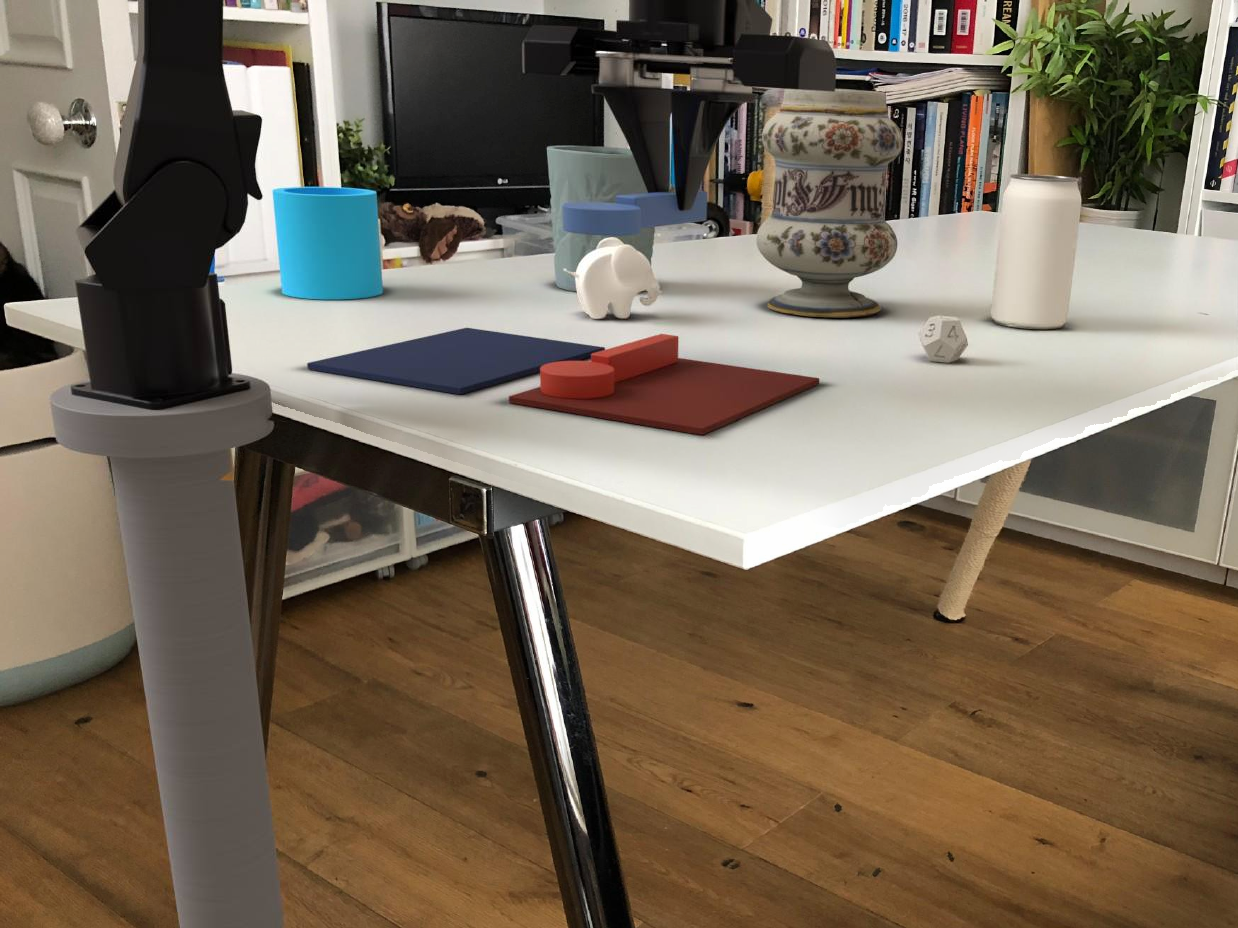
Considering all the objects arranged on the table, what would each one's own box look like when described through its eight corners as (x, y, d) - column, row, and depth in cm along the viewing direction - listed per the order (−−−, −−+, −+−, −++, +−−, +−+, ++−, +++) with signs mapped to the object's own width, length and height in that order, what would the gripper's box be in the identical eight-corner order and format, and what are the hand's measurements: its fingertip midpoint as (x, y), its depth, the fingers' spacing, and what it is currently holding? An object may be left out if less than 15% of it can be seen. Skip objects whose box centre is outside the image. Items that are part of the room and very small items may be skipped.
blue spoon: (613, 237, 72) (613, 203, 71) (547, 230, 74) (546, 197, 73) (727, 223, 83) (728, 193, 83) (667, 216, 85) (668, 187, 84)
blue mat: (460, 394, 78) (460, 388, 78) (307, 369, 83) (306, 363, 83) (605, 353, 92) (605, 347, 92) (466, 333, 97) (466, 327, 96)
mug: (391, 298, 109) (385, 196, 106) (287, 300, 106) (278, 195, 103) (367, 277, 119) (360, 183, 116) (271, 279, 116) (262, 182, 113)
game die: (951, 354, 98) (955, 313, 96) (974, 364, 94) (979, 322, 93) (908, 355, 96) (912, 314, 95) (930, 365, 93) (934, 323, 92)
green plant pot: (546, 277, 124) (543, 144, 119) (652, 278, 126) (653, 147, 122) (554, 294, 115) (551, 150, 110) (668, 295, 117) (670, 154, 113)
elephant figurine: (672, 323, 104) (673, 246, 102) (572, 324, 102) (571, 246, 99) (651, 308, 110) (651, 236, 108) (556, 309, 108) (554, 235, 105)
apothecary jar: (885, 301, 120) (900, 91, 113) (899, 323, 109) (916, 92, 102) (753, 295, 120) (761, 84, 113) (754, 317, 108) (762, 85, 102)
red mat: (702, 435, 72) (702, 428, 72) (508, 402, 77) (508, 396, 77) (819, 384, 86) (819, 378, 86) (648, 359, 91) (648, 353, 91)
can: (1072, 332, 109) (1091, 181, 105) (995, 328, 109) (1011, 177, 105) (1059, 319, 115) (1076, 176, 111) (985, 315, 115) (999, 172, 111)
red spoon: (588, 403, 76) (588, 372, 76) (525, 392, 78) (524, 362, 77) (698, 365, 88) (698, 338, 87) (641, 357, 89) (641, 330, 89)
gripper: (881, -53, 79) (861, 215, 84) (617, -56, 86) (615, 191, 92) (802, -78, 69) (786, 226, 75) (514, -79, 76) (519, 198, 82)
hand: (672, 209), depth 81 cm, fingers closed on blue spoon, 1 cm apart
